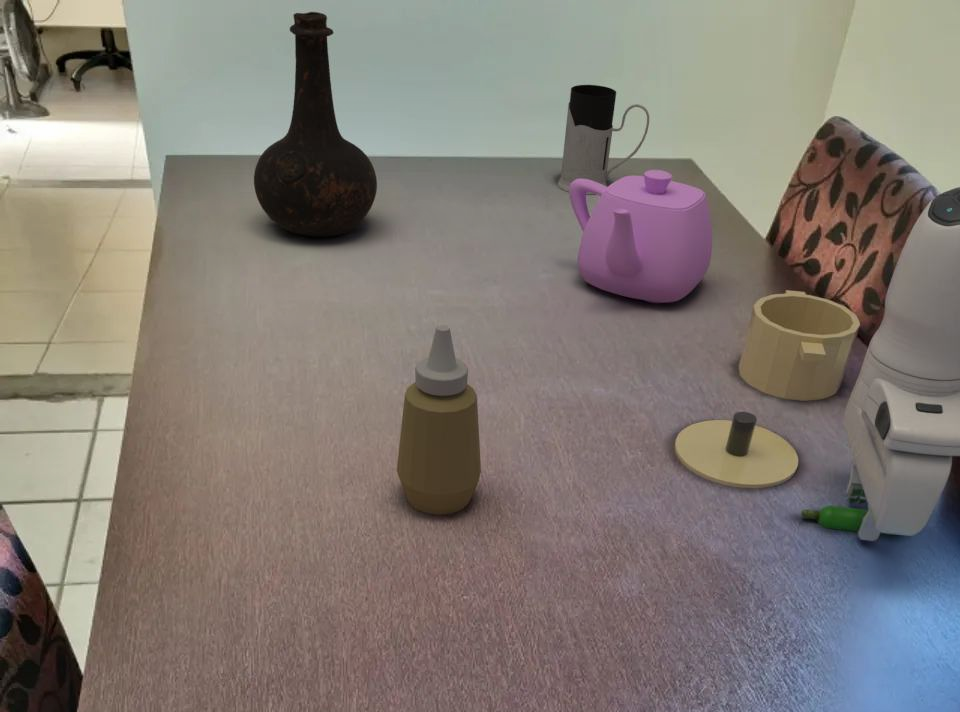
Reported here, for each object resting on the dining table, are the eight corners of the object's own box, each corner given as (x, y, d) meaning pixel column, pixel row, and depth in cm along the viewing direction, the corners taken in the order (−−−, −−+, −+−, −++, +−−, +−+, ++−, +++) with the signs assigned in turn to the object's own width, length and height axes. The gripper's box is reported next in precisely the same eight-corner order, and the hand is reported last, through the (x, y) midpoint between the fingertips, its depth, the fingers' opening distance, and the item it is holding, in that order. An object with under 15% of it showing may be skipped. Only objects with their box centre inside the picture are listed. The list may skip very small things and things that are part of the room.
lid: (787, 436, 109) (800, 393, 105) (802, 500, 99) (817, 456, 96) (671, 423, 109) (680, 381, 106) (675, 486, 100) (684, 442, 96)
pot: (826, 354, 125) (846, 290, 119) (848, 422, 112) (872, 352, 106) (732, 345, 125) (748, 280, 120) (743, 411, 112) (761, 341, 107)
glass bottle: (236, 234, 145) (211, 14, 126) (297, 200, 157) (283, -5, 138) (342, 258, 140) (333, 33, 121) (396, 220, 153) (395, 11, 134)
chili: (893, 528, 96) (902, 508, 95) (898, 542, 94) (907, 522, 93) (796, 518, 97) (802, 497, 95) (799, 532, 95) (805, 511, 93)
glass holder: (563, 175, 174) (572, 81, 164) (641, 186, 172) (656, 91, 161) (552, 190, 167) (562, 93, 157) (634, 202, 165) (649, 104, 155)
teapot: (584, 248, 148) (597, 140, 138) (716, 280, 141) (740, 170, 131) (516, 297, 133) (525, 181, 123) (660, 337, 126) (682, 217, 116)
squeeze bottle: (495, 503, 96) (509, 329, 84) (439, 537, 91) (445, 358, 79) (436, 471, 100) (440, 300, 88) (379, 502, 95) (375, 326, 83)
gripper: (853, 333, 93) (812, 458, 102) (896, 442, 78) (844, 577, 87) (920, 339, 93) (873, 464, 102) (976, 450, 78) (915, 585, 87)
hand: (860, 517), depth 94 cm, fingers open, 5 cm apart
